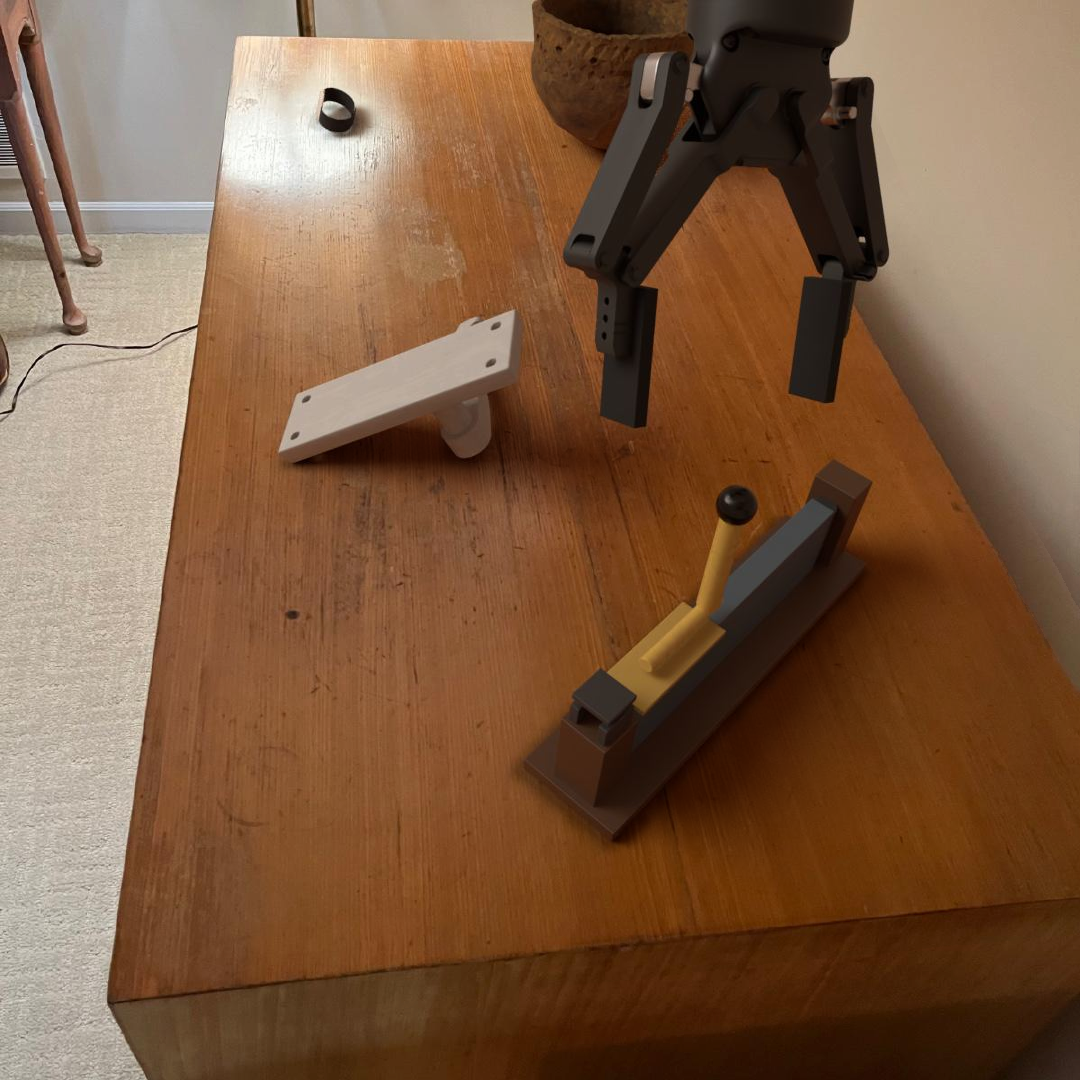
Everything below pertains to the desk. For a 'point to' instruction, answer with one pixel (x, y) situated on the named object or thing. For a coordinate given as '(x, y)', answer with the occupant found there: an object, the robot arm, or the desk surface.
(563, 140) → the desk surface
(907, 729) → the desk surface
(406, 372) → the handle
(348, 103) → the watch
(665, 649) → the bolt
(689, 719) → the sliding lever mechanism
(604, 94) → the bowl
